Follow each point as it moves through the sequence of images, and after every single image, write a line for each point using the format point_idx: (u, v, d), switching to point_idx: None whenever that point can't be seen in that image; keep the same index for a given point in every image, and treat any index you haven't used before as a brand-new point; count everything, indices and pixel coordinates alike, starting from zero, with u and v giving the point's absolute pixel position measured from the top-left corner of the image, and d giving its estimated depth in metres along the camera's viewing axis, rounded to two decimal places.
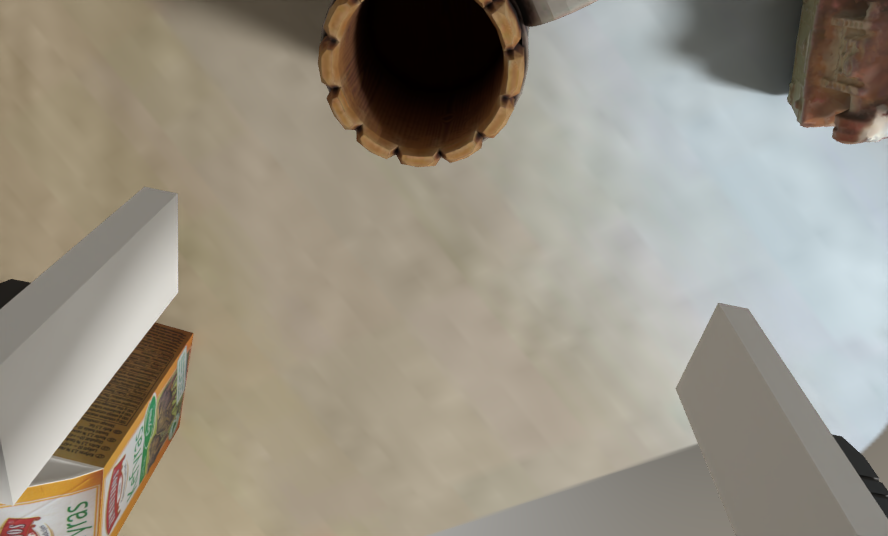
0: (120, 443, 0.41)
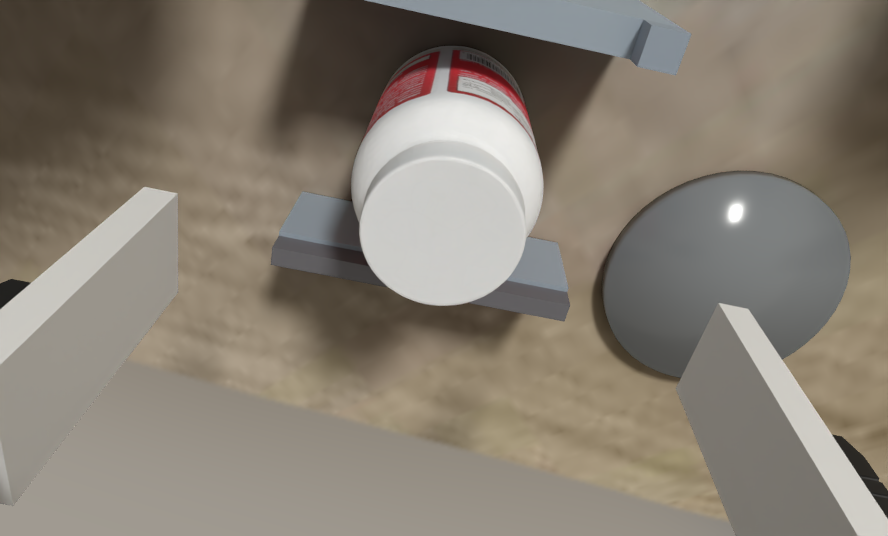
0: None
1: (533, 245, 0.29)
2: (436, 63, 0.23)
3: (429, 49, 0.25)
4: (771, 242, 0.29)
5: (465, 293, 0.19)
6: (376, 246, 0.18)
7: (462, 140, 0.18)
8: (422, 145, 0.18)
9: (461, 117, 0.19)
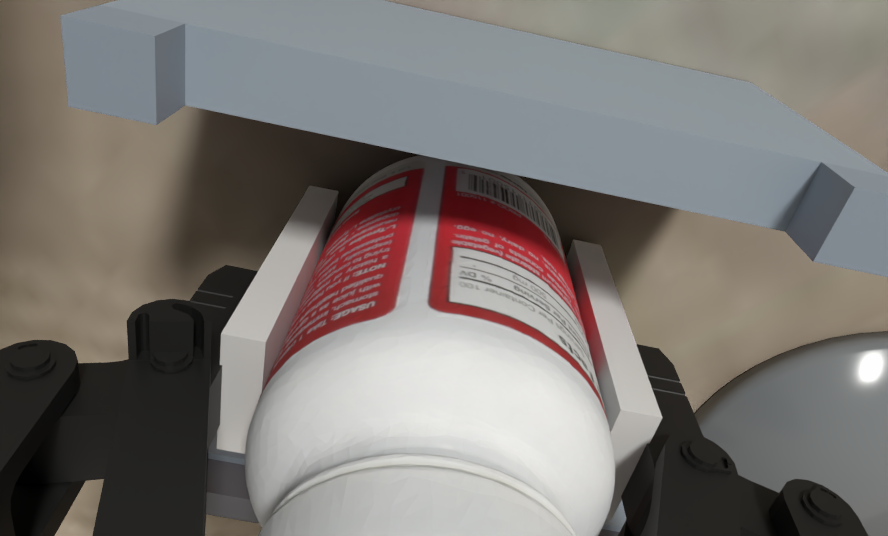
0: None
1: None
2: (415, 203, 0.13)
3: (408, 159, 0.16)
4: None
5: None
6: None
7: (457, 432, 0.09)
8: (366, 477, 0.08)
9: (456, 383, 0.09)
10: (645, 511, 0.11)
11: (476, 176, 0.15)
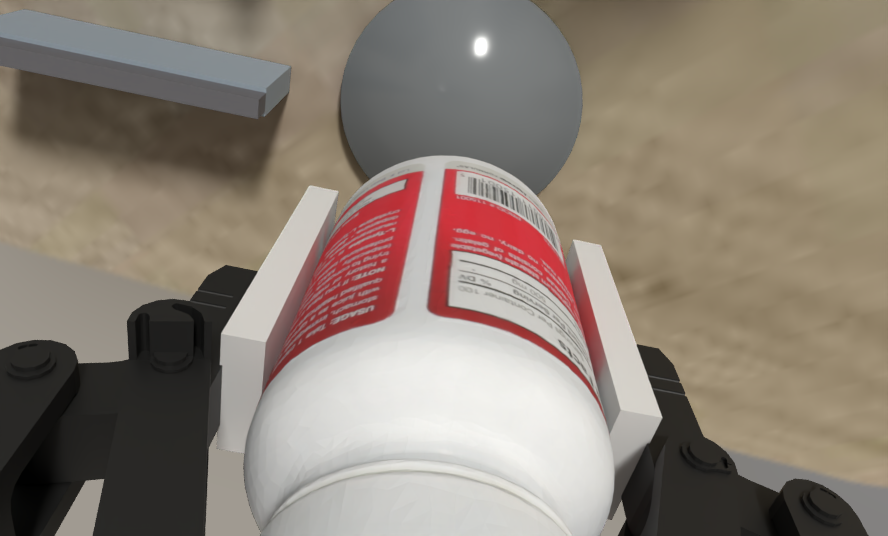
0: None
1: (260, 64, 0.29)
2: (414, 206, 0.13)
3: (407, 162, 0.16)
4: (496, 57, 0.28)
5: None
6: None
7: (456, 437, 0.09)
8: (365, 482, 0.08)
9: (455, 388, 0.09)
10: (645, 511, 0.11)
11: (475, 179, 0.15)
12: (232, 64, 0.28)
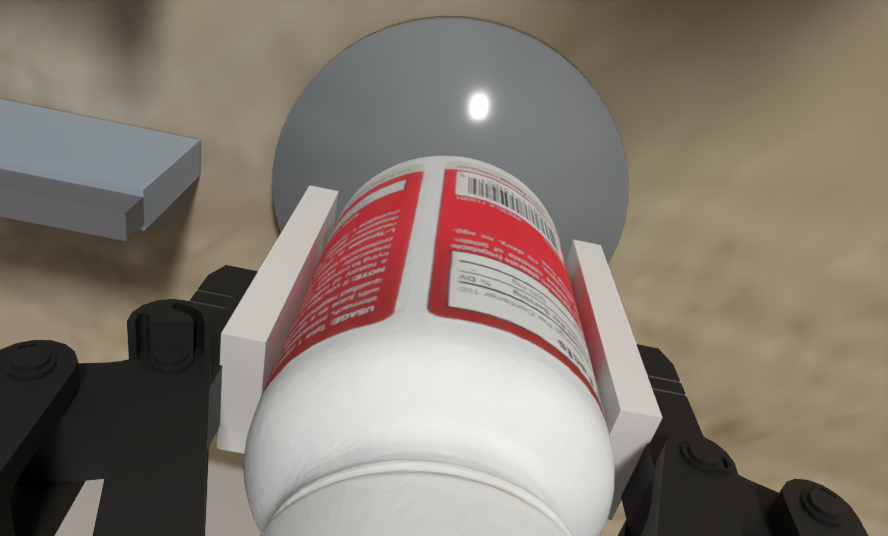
0: None
1: (150, 139, 0.19)
2: (415, 206, 0.13)
3: (407, 162, 0.16)
4: (502, 132, 0.19)
5: None
6: None
7: (456, 438, 0.09)
8: (365, 483, 0.08)
9: (454, 388, 0.09)
10: (645, 511, 0.11)
11: (476, 179, 0.15)
12: (103, 144, 0.19)
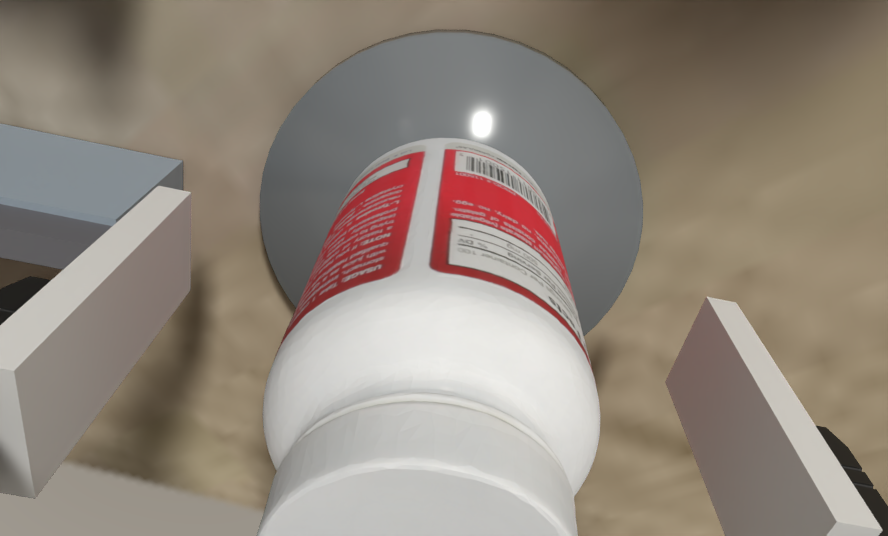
0: None
1: (129, 161, 0.18)
2: (417, 181, 0.14)
3: (409, 143, 0.17)
4: (506, 154, 0.17)
5: None
6: None
7: (456, 377, 0.10)
8: (376, 410, 0.09)
9: (455, 333, 0.10)
10: None
11: (473, 158, 0.16)
12: (77, 167, 0.17)
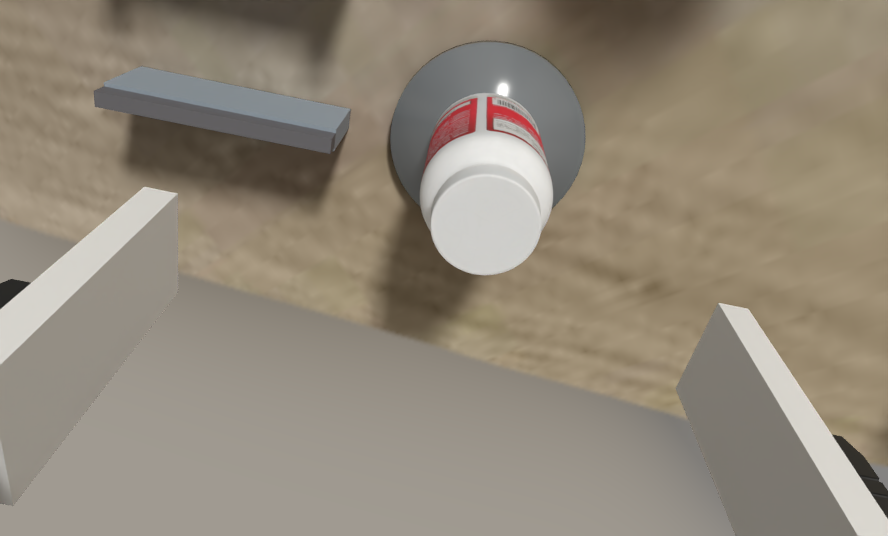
0: None
1: (326, 108, 0.36)
2: (476, 108, 0.32)
3: None
4: (516, 101, 0.35)
5: (500, 266, 0.28)
6: (441, 234, 0.27)
7: (498, 163, 0.28)
8: (472, 167, 0.27)
9: (497, 148, 0.28)
10: None
11: (500, 100, 0.33)
12: (306, 109, 0.35)
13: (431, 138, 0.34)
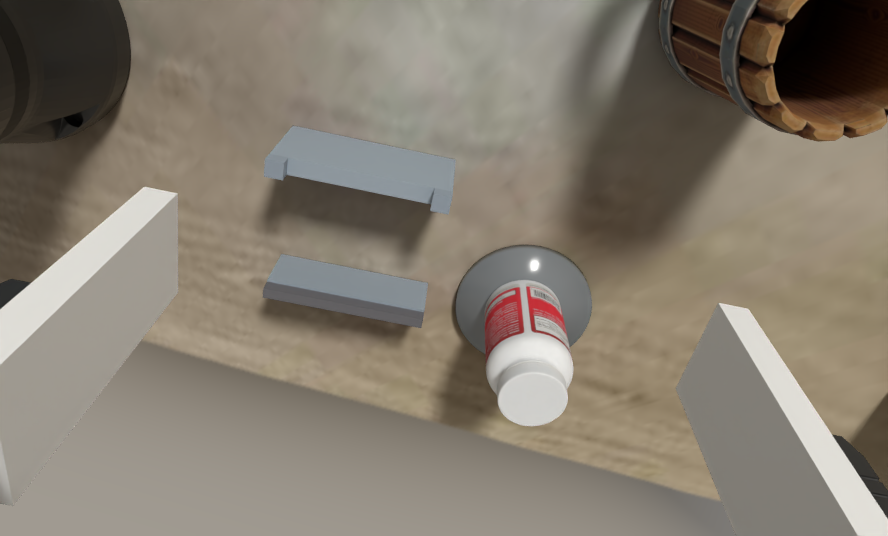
0: None
1: (412, 284, 0.52)
2: (520, 300, 0.48)
3: (513, 282, 0.50)
4: (544, 284, 0.51)
5: (540, 421, 0.44)
6: (504, 403, 0.43)
7: (539, 357, 0.44)
8: (525, 363, 0.43)
9: (539, 347, 0.44)
10: None
11: (535, 290, 0.49)
12: (400, 289, 0.51)
13: (488, 314, 0.50)
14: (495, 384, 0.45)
